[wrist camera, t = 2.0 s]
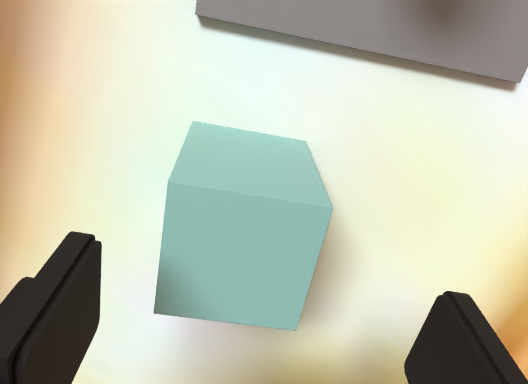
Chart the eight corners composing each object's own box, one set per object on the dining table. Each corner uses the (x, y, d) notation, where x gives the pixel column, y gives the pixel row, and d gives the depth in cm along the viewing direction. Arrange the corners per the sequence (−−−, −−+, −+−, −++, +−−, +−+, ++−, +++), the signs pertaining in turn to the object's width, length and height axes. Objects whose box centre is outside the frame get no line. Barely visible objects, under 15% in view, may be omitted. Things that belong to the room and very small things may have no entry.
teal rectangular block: (281, 236, 21) (295, 330, 15) (180, 221, 21) (153, 313, 15) (305, 141, 19) (333, 208, 13) (192, 120, 18) (167, 181, 12)
